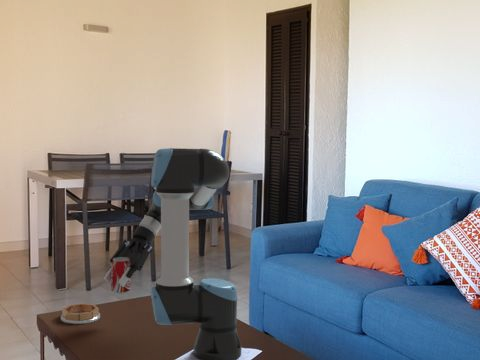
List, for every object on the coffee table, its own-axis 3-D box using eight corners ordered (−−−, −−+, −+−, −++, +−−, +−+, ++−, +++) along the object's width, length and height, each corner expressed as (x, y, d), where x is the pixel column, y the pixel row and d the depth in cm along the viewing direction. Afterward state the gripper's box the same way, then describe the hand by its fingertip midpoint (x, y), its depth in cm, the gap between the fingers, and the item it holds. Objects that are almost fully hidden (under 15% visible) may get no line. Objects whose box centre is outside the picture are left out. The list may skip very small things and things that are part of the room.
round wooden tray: (105, 320, 219) (105, 311, 218) (67, 326, 211) (67, 317, 211) (92, 309, 231) (92, 300, 230) (56, 315, 223) (55, 306, 223)
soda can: (122, 295, 210) (121, 261, 209) (106, 292, 213) (106, 259, 212) (135, 291, 216) (135, 258, 215) (120, 288, 219) (120, 255, 218)
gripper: (171, 240, 219) (138, 293, 208) (133, 234, 231) (100, 283, 220) (161, 228, 214) (127, 281, 203) (123, 222, 226) (89, 272, 215)
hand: (113, 282), depth 211 cm, fingers closed on soda can, 7 cm apart
